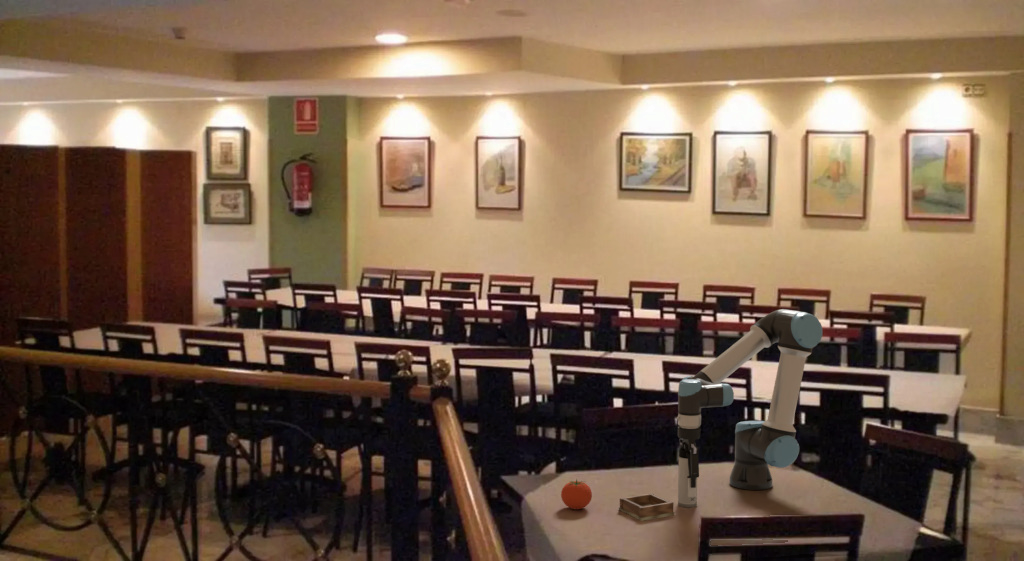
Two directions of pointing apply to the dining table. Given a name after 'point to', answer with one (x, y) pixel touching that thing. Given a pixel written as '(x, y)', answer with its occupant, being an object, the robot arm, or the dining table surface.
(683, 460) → the travel mug
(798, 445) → the robot arm
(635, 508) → the walnut caddy
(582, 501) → the tomato
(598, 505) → the dining table surface
